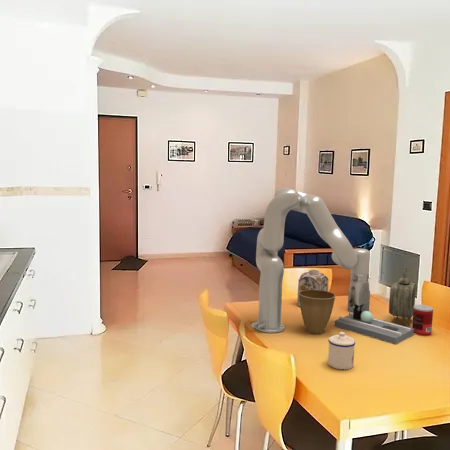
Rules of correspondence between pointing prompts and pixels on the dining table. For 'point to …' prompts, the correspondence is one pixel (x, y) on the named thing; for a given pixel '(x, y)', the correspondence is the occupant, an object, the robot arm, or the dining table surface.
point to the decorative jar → (312, 282)
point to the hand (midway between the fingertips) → (357, 318)
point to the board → (375, 329)
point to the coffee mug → (365, 306)
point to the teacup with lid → (341, 351)
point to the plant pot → (316, 309)
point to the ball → (366, 316)
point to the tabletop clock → (402, 298)
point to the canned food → (422, 319)
